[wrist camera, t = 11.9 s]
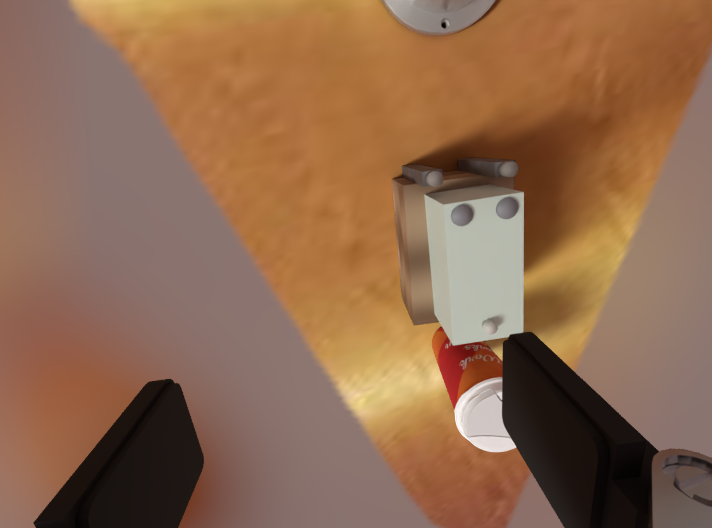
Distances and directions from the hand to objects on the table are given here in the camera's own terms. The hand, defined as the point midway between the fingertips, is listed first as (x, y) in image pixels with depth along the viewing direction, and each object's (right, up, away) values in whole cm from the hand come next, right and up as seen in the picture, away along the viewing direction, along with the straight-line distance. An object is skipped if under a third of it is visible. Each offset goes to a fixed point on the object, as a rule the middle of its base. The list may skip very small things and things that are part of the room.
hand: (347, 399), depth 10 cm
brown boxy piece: (+10, +7, +30) cm, 32 cm away
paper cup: (+12, -6, +35) cm, 37 cm away
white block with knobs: (+10, +5, +23) cm, 26 cm away
